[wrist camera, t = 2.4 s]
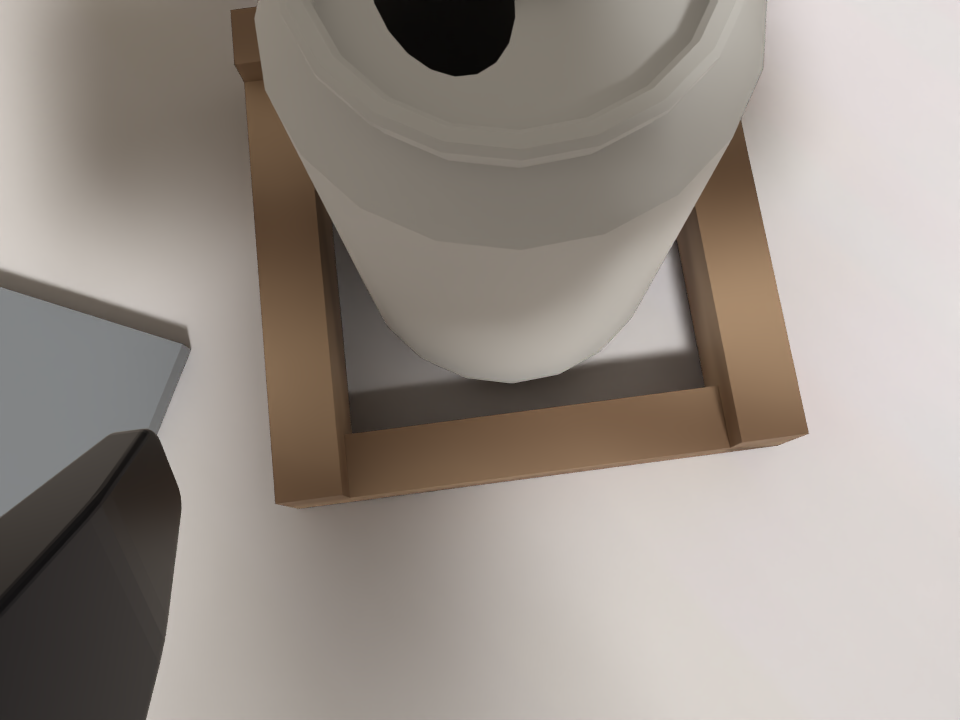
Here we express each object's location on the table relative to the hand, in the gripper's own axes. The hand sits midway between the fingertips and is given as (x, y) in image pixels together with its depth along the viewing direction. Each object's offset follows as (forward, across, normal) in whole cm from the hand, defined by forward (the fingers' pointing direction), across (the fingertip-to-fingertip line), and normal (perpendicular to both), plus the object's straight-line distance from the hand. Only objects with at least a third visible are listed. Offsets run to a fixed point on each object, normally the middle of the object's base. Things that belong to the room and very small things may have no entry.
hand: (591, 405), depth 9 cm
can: (+13, 0, +5) cm, 14 cm away
